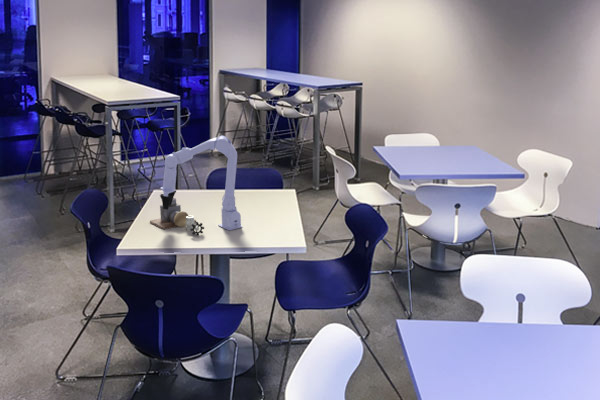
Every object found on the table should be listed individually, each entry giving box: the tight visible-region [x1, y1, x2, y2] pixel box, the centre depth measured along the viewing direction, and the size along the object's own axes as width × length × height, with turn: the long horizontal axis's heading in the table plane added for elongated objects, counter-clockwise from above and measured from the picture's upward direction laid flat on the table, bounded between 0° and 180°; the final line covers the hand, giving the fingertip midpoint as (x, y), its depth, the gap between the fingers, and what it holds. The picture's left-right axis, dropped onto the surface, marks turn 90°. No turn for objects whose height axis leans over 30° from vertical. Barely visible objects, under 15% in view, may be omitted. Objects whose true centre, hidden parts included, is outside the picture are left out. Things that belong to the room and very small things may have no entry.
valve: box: [185, 215, 205, 236], centre depth 297 cm, size 7×7×12 cm
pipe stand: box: [149, 197, 197, 230], centre depth 309 cm, size 16×18×12 cm
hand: (167, 207), depth 300 cm, fingers open, 7 cm apart
